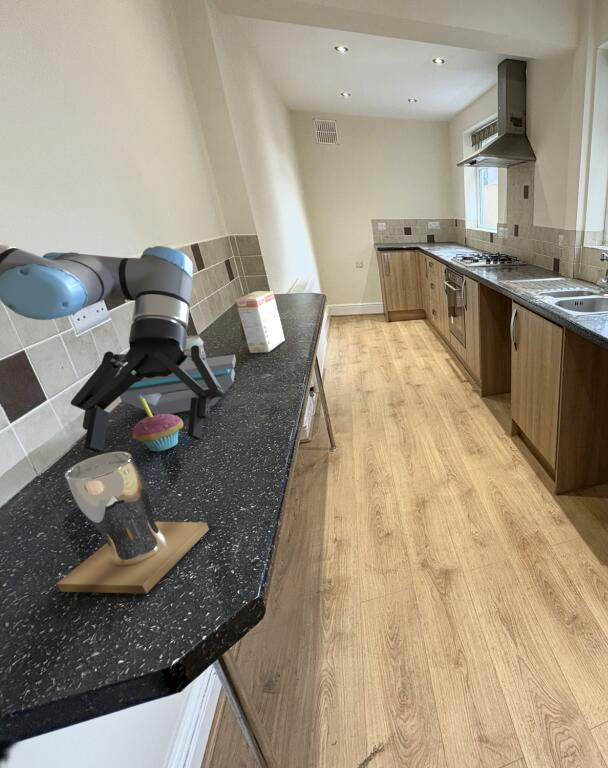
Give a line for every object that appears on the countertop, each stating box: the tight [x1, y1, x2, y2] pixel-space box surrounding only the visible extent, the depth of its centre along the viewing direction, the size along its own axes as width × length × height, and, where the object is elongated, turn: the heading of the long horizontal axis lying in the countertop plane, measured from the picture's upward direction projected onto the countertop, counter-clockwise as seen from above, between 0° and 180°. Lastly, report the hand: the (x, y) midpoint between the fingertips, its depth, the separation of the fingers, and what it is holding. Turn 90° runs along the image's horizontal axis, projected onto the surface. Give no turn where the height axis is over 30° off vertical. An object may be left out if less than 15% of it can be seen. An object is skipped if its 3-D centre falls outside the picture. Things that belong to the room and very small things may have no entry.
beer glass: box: [64, 451, 166, 566], centre depth 57 cm, size 7×7×15 cm
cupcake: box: [131, 395, 184, 452], centre depth 88 cm, size 9×8×12 cm
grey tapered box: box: [114, 354, 237, 415], centre depth 106 cm, size 25×8×11 cm, turn 118°
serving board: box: [56, 521, 210, 594], centre depth 61 cm, size 12×12×2 cm
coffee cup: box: [185, 335, 205, 361], centre depth 125 cm, size 9×8×12 cm
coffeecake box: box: [234, 290, 286, 354], centre depth 151 cm, size 15×7×20 cm, turn 6°
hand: (145, 443), depth 65 cm, fingers open, 13 cm apart
